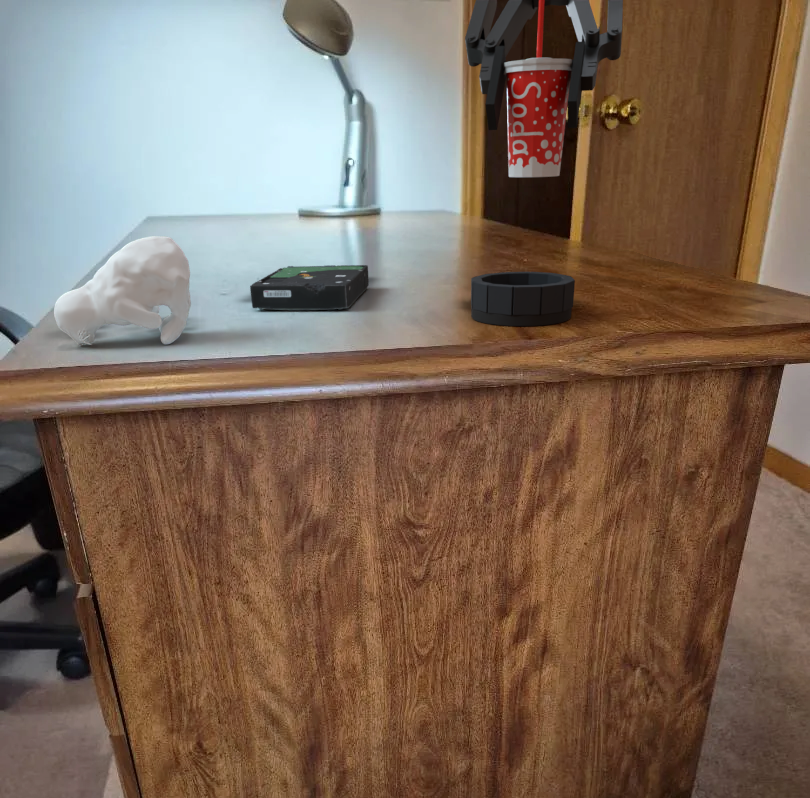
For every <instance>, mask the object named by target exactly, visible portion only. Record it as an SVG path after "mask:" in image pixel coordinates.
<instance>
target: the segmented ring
mask: <svg viewBox="0 0 810 798" xmlns="http://www.w3.org/2000/svg"><path fill="white" fill-rule="evenodd" d="M575 285H576V279H574V278H573V277H572V276H571V275H567V274H561V273H555V272H543V271H502V272H491V273H484V274H480V275H477V276H472V277H471V278H470V309H471V311H470V317H471V319H472V320H474V321H475V322H479V323H482V324H486V325H493V326H504V327H542V326H550V325H556V324H561V323H564V322H567V321H569V320H570V319H571V318H572V311H573V310H572V309H573V308H574V301H575V299H574V298H575V287H576V286H575Z"/></svg>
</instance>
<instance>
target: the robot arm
mask: <svg viewBox="0 0 810 798" xmlns="http://www.w3.org/2000/svg"><path fill="white" fill-rule="evenodd" d="M497 6H498V0H475V2H474V6H473V9H472V12H471V16H470V20H469V23H468V26H467V30H466V33H465V35H464V36H465V37H464V43H465V49H466V55H467V63H468V65H469V66H470V67H473V68H476V67H478V66H480V70H479V75H478V77H479V85H480V91H481V95H486V99H485V103H484V104H485V111H486V112H485V113H486V119H487V120H486V121H487V129H488V131H498V128H499V121H500V116H501V110H502V104H503V98H504V93H505V87H506V83H507V80H506V75H505V74H504V70H505V69H504V63H505V62H507V56H508V54H509V52H510V50H511V49H512V47H513V45H514V44H515V43H516V40H517V39H518V37H519V35H520V33H521V32H522V30H523V28H524V27H525V25H526V23H527V22H528V20H532V18H533V17H534V15H535V14H536V11H537V10H538V9H539V0H508V1H507V3H506V4H505V6H504V8H503V9H502V11H501V13H500V15H499V16H498V18H497V19H496V21H495V23H494V24H493V21H494V18H495V15H496V12H497ZM547 6H559V7H563V6H565V7H566V10H567V14H568V17H569V18H570V19H571V22H572V25H573V28H574V33H575V35H576V39H577V41H575V45H574V53H573V59H572V60H573V67H572V72H571V78H570V87H569V95H568V104H567V128H568V129H577V128H578V122H579V114H580V109H581V108H580V106H581V100H582V92H586V91H589V92H590V91H593V90H594V89H595V87H596V84H597V75H598V69H599V68H598V67H599V64H600V62H601V61H602V60H604V59H607V60H609V61H617V60H618V59H620V58H621V56H622V55H621V54H622V43H623V14H624V0H607V23H606V24H607V25H606V27H607V28H606V32H603V33H601V26H598V25H597V22H596V19H595V16H594V13H593V9H592V6H591V3H590V0H545V2H544V7H547ZM492 25H493V26H492Z"/></svg>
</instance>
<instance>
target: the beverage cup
mask: <svg viewBox="0 0 810 798" xmlns="http://www.w3.org/2000/svg"><path fill="white" fill-rule="evenodd" d="M544 2H545V0H539V7H538V9H537V10H538V14H537V34H536V36H537V37H536V55H535V56H536V57H530V58H526V59H517V60H511V61H506V62H505V63H504V69H505V70H504V74H505V75H506V115H507V157H508V158H507V159H508V160H507V164H508V165H507V166H508V177H509V178H548V177H549V178H550V177H551V178H552V177H560V176H561V175H560V174H561V173H560V172H561V164H562V157H563V147H564V138H565V131H566V121H567V114H568V95H569V88H570V81H571V74H572V67H573V60H574V59H571V58H553V57H543V47H544V46H543V45H544V44H543V43H544V42H543V41H544V24H545V23H544V21H545V6H544Z"/></svg>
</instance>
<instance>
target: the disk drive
mask: <svg viewBox="0 0 810 798" xmlns="http://www.w3.org/2000/svg"><path fill="white" fill-rule="evenodd" d="M369 282H370V281H369V265H368V264H356V265H355V264H354V265H353V264H351V265H350V264H349V265H348V264H347V265H345V264H344V265H332V264H331V265H309V266H307V265H302V266H300V265H299V266H296V265H295V266H293V265H288V266H287V267H281V268H278V269H277V270H275V271H273V272H272V273H270V274H268V275H266V276H264V277H263V278H260V279H259V280H257V281H255V282H253V283H252V284H251V285H249V286H250V287H249V288H250V289H249V290H250V299H251V308H252V309H259V310H273V311H324V310H337V309H338V310H343V309H350V307H351V306H352V305H353V304H354V303H355V302H356V300H358V298H359V297H360V296H361V295H362V294H363V293H364V292H365V291H366V290H367V288H368V286H370V285H369V284H370V283H369Z"/></svg>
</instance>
